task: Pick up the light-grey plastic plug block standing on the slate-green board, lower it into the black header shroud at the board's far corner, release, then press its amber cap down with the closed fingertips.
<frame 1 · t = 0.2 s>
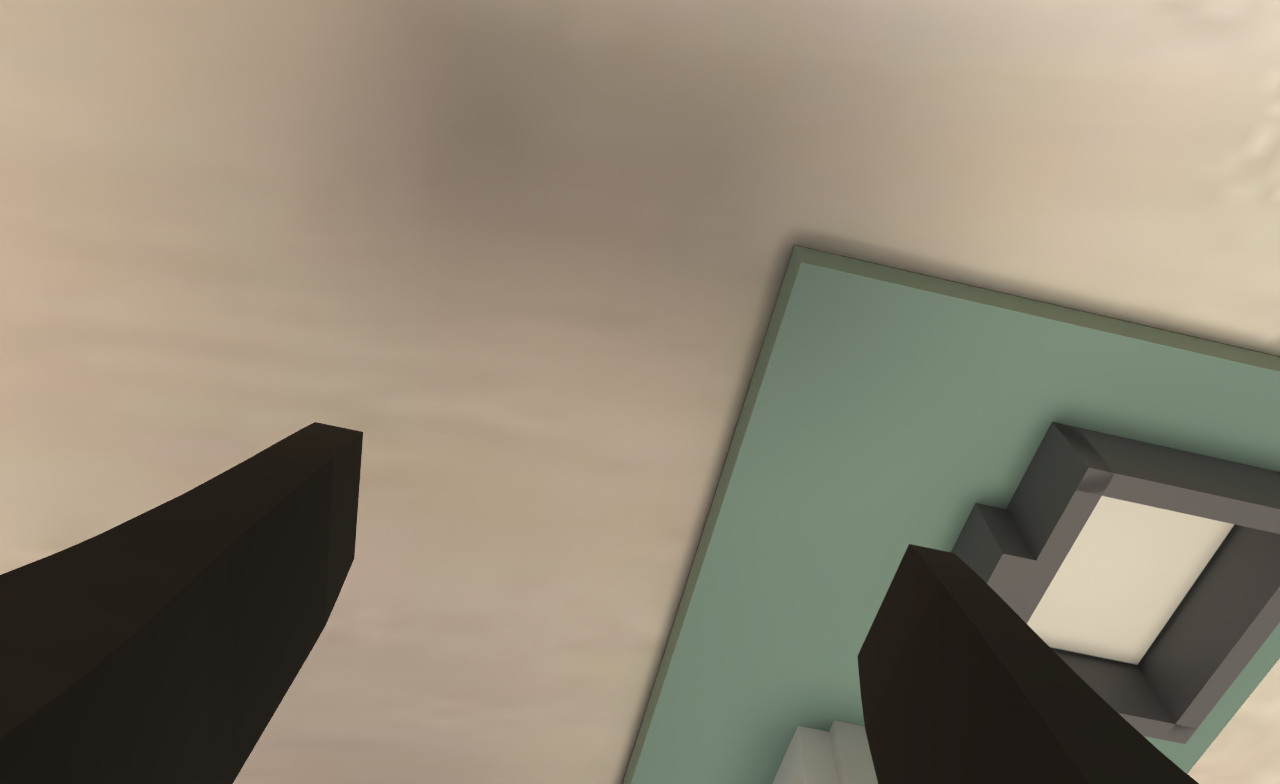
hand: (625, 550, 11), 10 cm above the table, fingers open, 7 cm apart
board: (942, 653, 25), on the table
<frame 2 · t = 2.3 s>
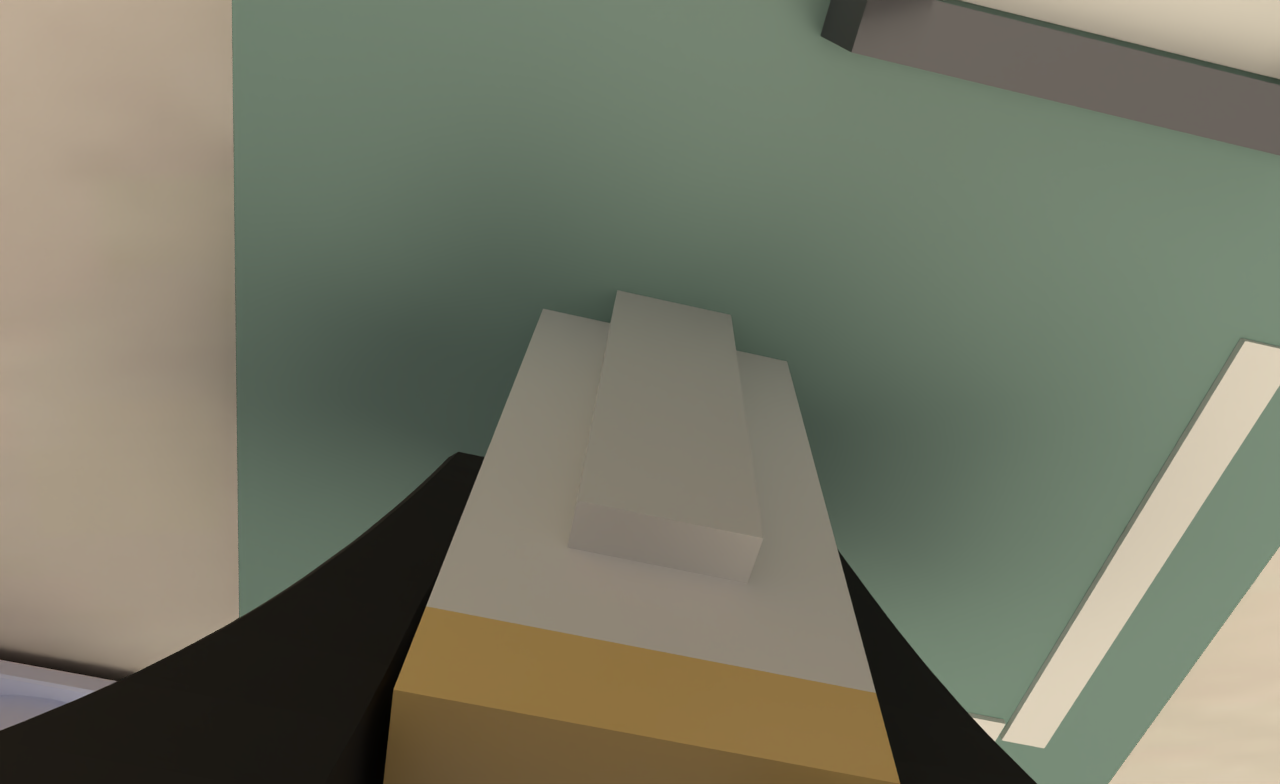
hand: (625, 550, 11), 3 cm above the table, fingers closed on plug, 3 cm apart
board: (852, 154, 12), on the table
plug: (632, 467, 13), point 1 cm above the table, touching board, gripper
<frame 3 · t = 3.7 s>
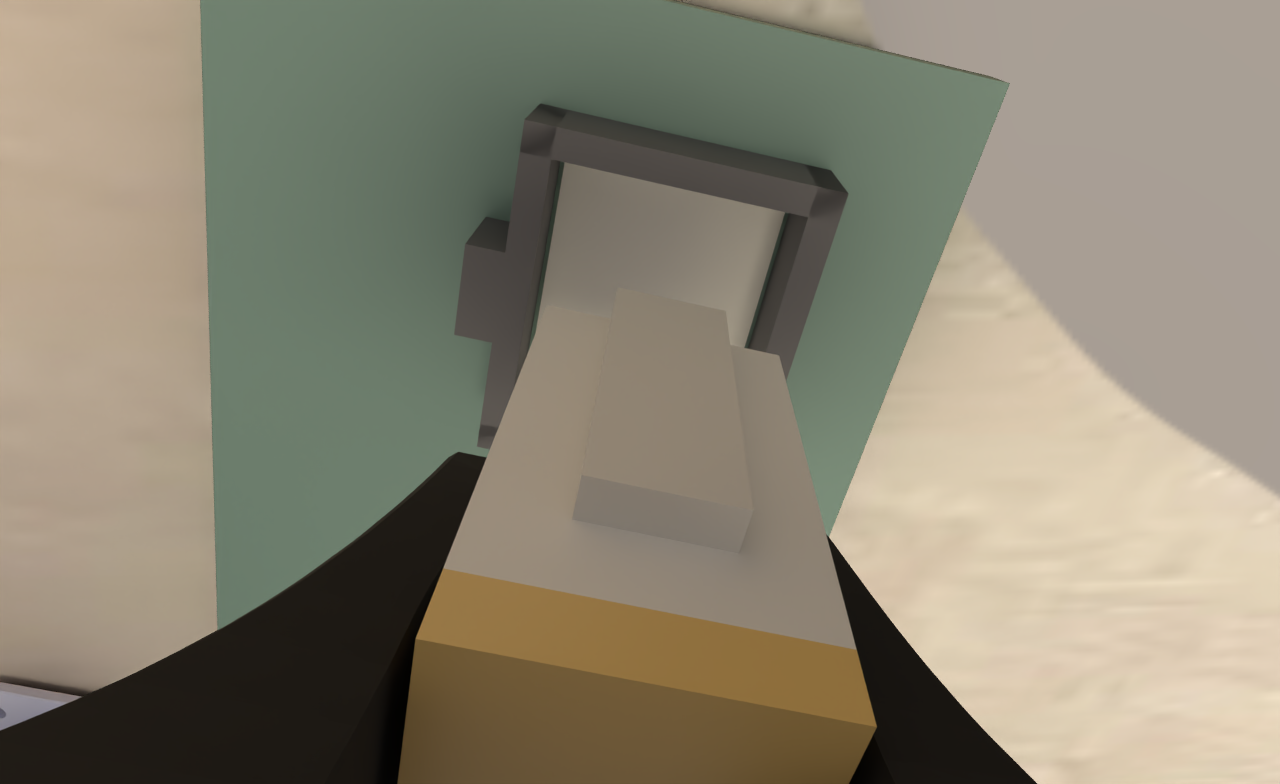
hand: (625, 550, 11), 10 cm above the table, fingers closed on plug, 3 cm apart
board: (537, 436, 22), on the table
plug: (632, 457, 13), point 8 cm above the table, touching gripper
when the fingers open (4 cm above the table, at t = 5.2 s): plug stays where it is, resting on board.
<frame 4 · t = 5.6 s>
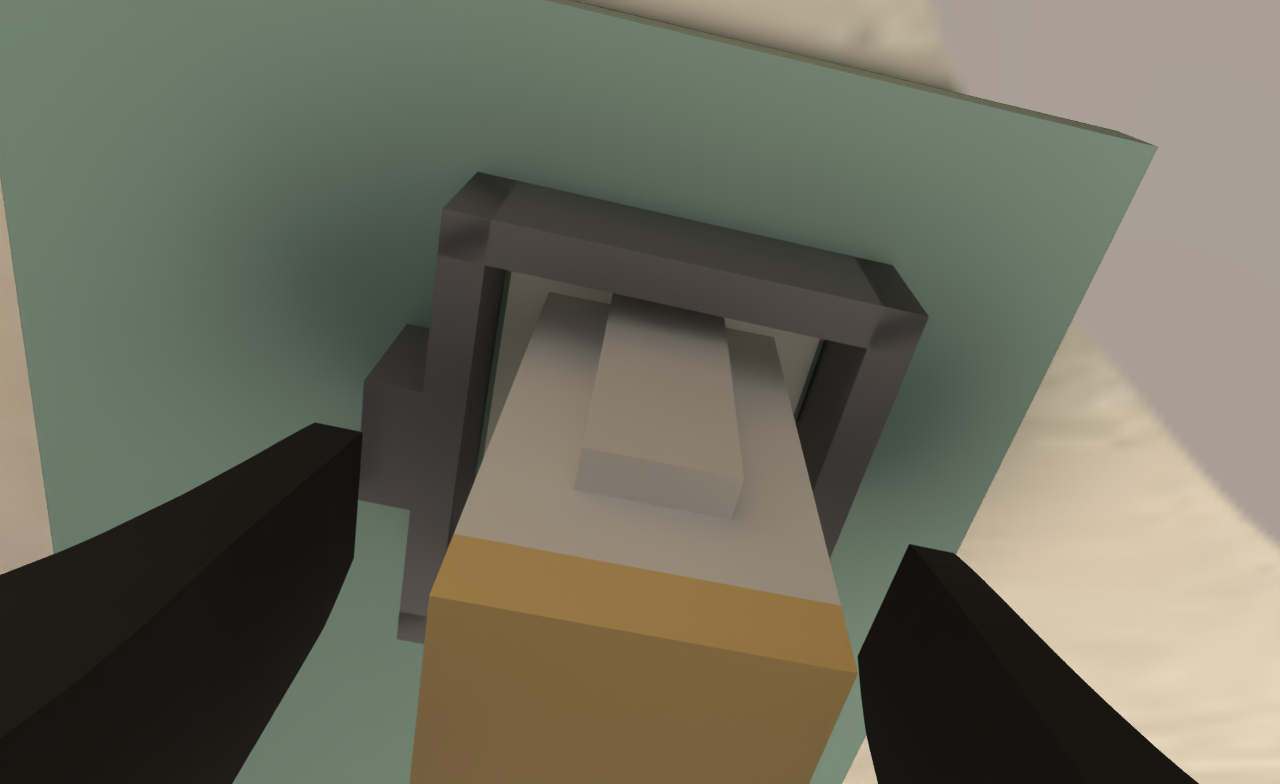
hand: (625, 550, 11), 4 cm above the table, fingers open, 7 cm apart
board: (492, 585, 17), on the table
plug: (633, 438, 14), point 1 cm above the table, touching board
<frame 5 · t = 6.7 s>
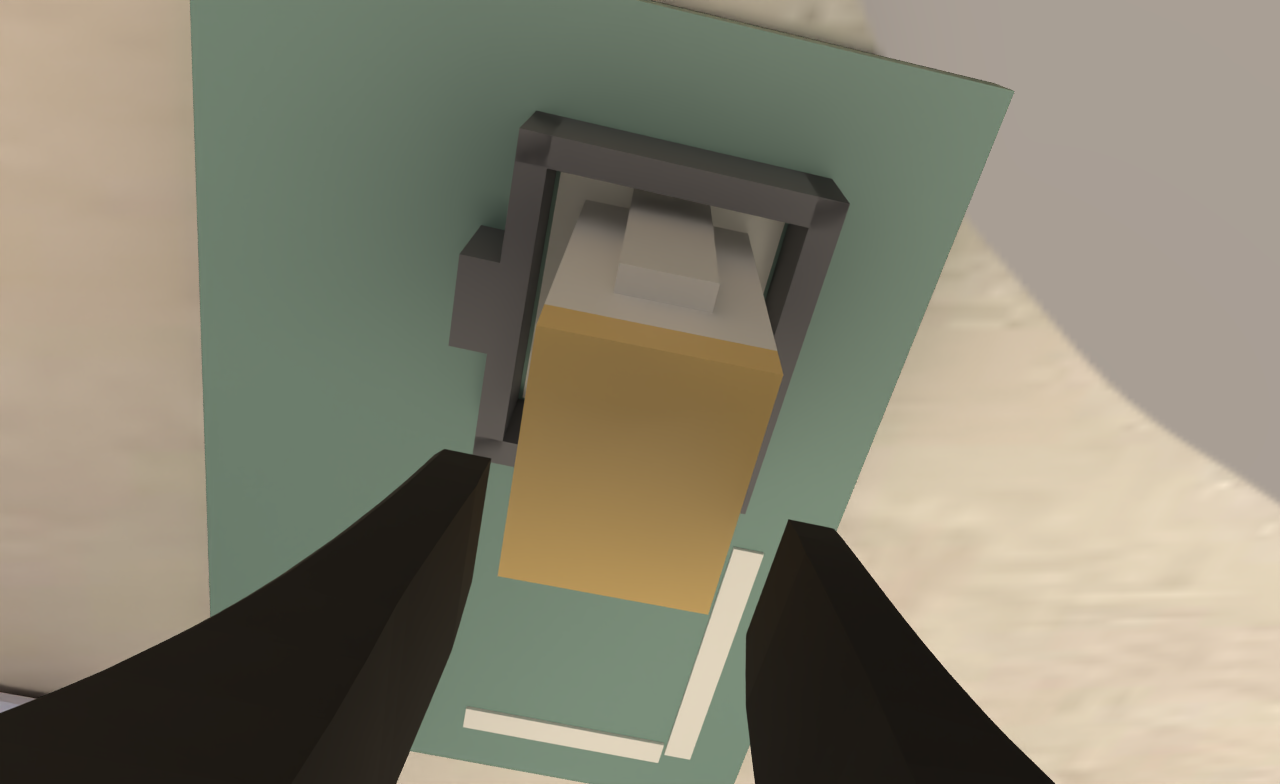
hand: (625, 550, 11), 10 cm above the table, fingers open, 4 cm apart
board: (534, 446, 22), on the table
plug: (645, 313, 19), point 1 cm above the table, touching board
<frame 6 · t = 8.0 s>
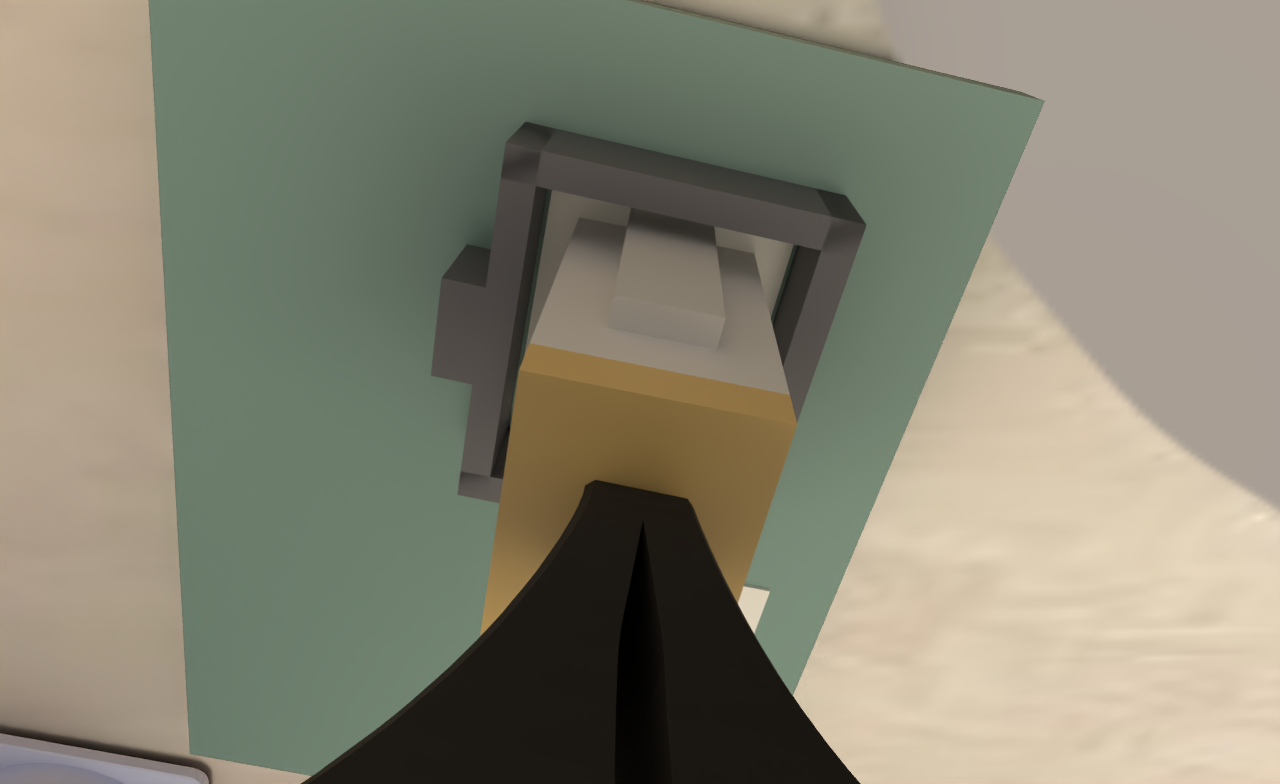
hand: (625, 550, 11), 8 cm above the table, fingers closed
board: (525, 475, 21), on the table
plug: (644, 338, 17), point 1 cm above the table, touching board
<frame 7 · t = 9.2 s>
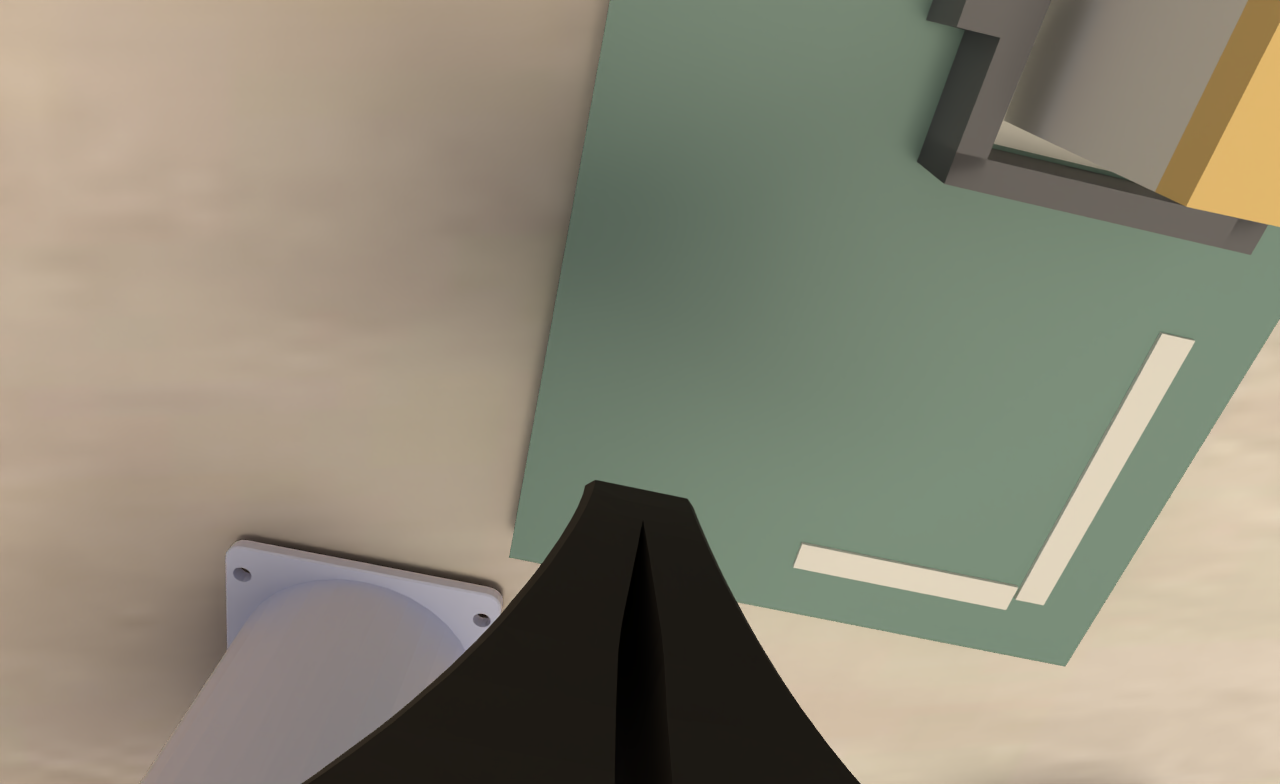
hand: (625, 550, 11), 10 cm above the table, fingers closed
board: (927, 221, 19), on the table
plug: (1137, 20, 16), point 1 cm above the table, touching board
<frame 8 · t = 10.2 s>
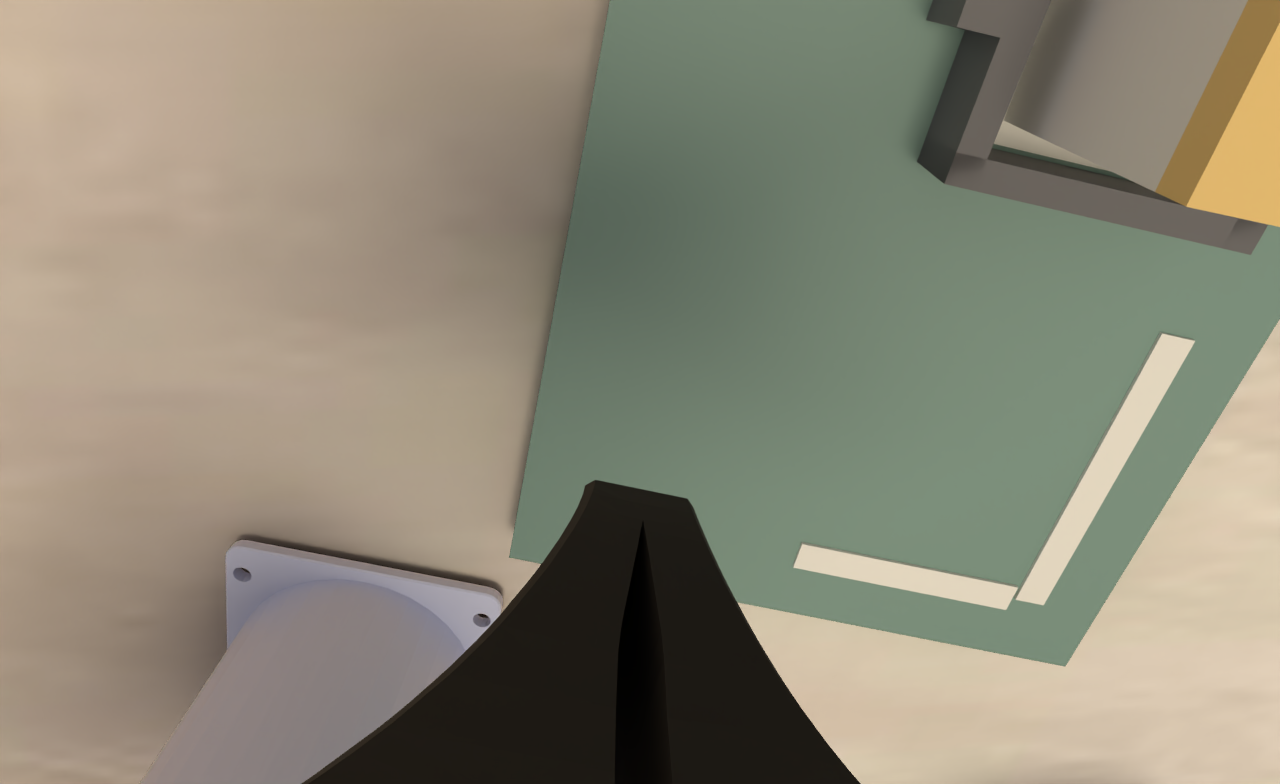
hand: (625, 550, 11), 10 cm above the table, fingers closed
board: (927, 221, 19), on the table
plug: (1137, 20, 16), point 1 cm above the table, touching board
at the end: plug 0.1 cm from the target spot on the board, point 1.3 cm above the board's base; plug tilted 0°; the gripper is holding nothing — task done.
